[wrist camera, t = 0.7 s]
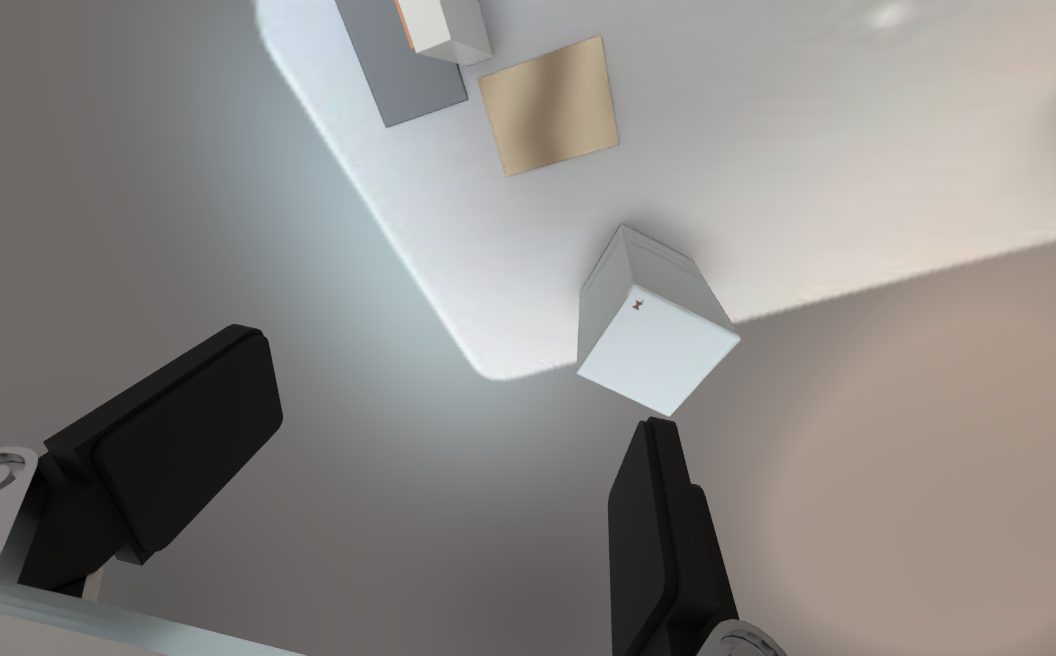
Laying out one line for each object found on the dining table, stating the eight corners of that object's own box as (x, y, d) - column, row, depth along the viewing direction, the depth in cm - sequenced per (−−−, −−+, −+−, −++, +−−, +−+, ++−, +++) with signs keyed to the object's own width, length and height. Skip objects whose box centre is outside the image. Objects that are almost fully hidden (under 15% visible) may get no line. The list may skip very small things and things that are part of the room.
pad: (600, 35, 28) (600, 34, 27) (618, 144, 31) (619, 144, 30) (478, 79, 30) (477, 79, 30) (506, 176, 33) (506, 177, 33)
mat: (402, -113, 25) (400, -116, 25) (468, 99, 31) (466, 99, 30) (311, -66, 27) (307, -68, 27) (387, 127, 32) (385, 127, 32)
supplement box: (577, 292, 37) (570, 373, 26) (621, 220, 33) (635, 280, 23) (647, 328, 38) (668, 421, 27) (697, 261, 34) (746, 338, 23)
